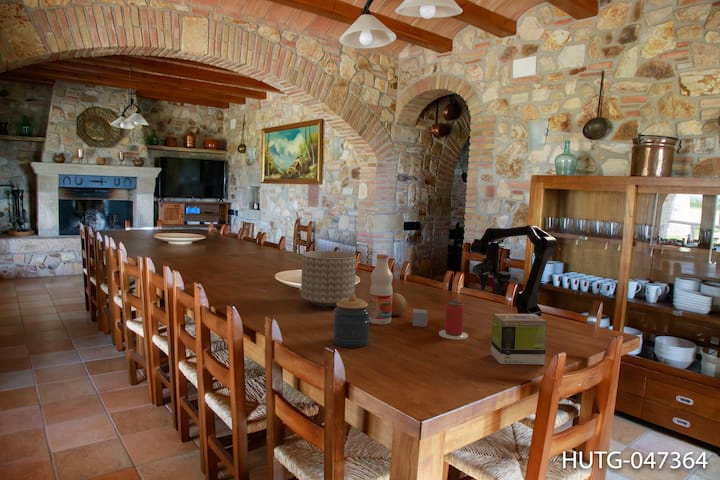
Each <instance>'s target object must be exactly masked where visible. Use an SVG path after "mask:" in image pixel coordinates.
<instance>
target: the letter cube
mask: <svg viewBox="0 0 720 480" xmlns="http://www.w3.org/2000/svg"><path fill="white" fill-rule="evenodd" d="M427 324H428V310H427V309H416V308H413V310H412V327H423V328H424V327H426V328H428V327H427V326H428V325H427Z"/></svg>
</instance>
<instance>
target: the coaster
mask: <svg viewBox="0 0 720 480" xmlns="http://www.w3.org/2000/svg"><path fill="white" fill-rule="evenodd" d="M438 336H439V337H441V338H442V339H447V340H453V341H454V340H455V341H460V340H466V339H468V337H469V335H468V333H466V332H465V331H463V333H462V335H459V336H452V335H448V334H447V333H446V332H445V329H442V330H439V331H438Z"/></svg>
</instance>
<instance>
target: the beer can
mask: <svg viewBox="0 0 720 480" xmlns="http://www.w3.org/2000/svg"><path fill="white" fill-rule="evenodd" d="M464 315H465V308H464V302H460V301H448V303H447V306H446V310H445V328H444V330H445V332H446V333H447V334H448V335H452V336H459V335H462V333H463V332H464V319H465V318H464V317H465V316H464Z"/></svg>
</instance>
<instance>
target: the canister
mask: <svg viewBox="0 0 720 480" xmlns="http://www.w3.org/2000/svg"><path fill="white" fill-rule="evenodd" d="M336 305H337V307H333V312H334V317H333V320H332V321H333V330H332V331H333V334H332V342H333V344H334V345H336V346H338V347H341V348H347V349H358V348H364V347H366V346H367V345H368V344H369V341H370V323H371V322H370V319H369V313H370V310H369V303H368V302H366V300H364V299H361V298H359V297H358V298H357V296H356V293H355V294H350V295H349V298H344V299H341V300H340V301H338V302H337V303H336Z"/></svg>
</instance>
